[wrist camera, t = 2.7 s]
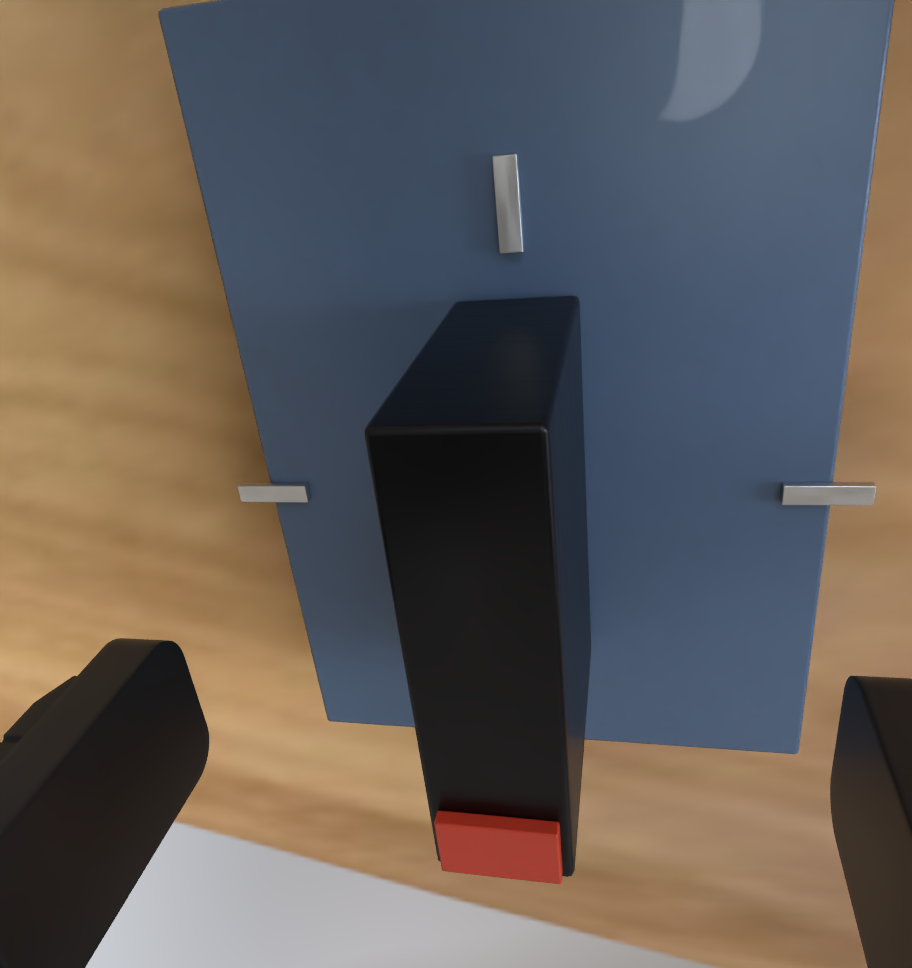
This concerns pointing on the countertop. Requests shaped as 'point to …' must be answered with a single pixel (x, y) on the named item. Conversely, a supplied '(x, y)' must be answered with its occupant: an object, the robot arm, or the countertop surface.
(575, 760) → the black and red block
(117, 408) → the countertop surface
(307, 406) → the rotary switch base
